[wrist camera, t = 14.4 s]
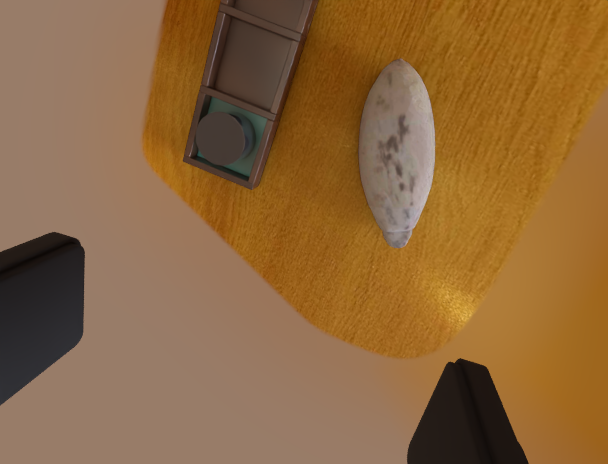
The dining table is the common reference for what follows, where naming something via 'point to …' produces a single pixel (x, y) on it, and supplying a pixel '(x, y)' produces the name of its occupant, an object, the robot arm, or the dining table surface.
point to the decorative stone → (397, 150)
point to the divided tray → (250, 75)
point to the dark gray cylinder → (225, 137)
